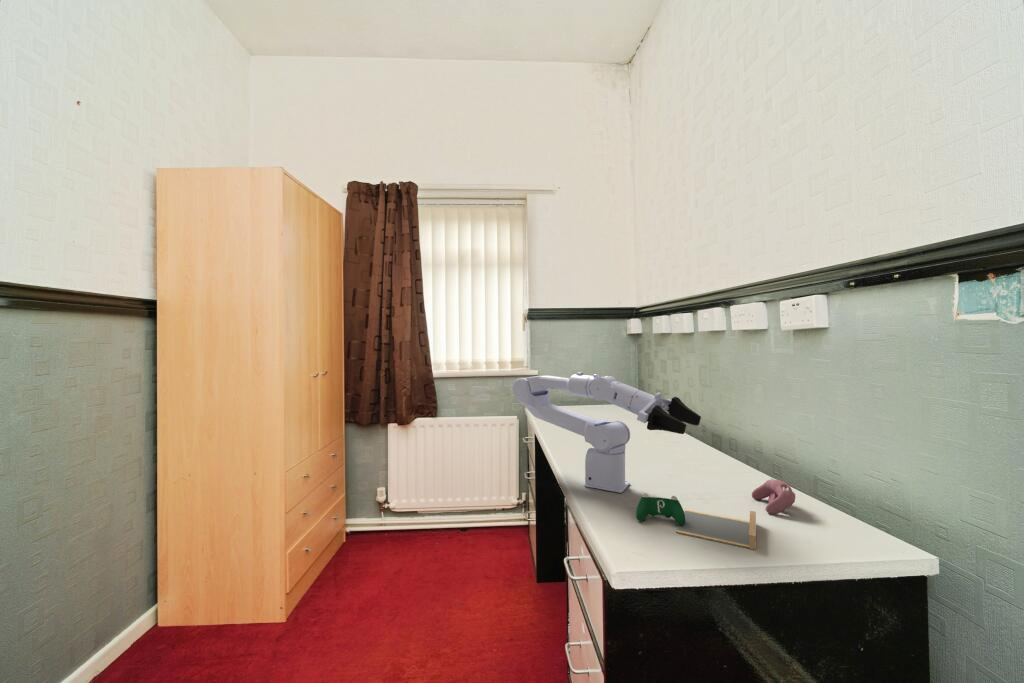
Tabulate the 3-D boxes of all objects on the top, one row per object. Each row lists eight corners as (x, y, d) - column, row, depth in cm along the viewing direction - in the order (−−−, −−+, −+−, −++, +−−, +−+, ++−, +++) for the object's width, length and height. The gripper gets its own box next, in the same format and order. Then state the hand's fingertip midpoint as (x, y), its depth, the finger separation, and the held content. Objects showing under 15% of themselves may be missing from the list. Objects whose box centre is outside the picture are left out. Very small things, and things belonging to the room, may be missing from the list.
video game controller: (787, 524, 87) (804, 494, 86) (765, 512, 88) (782, 483, 87) (768, 505, 97) (783, 479, 96) (748, 495, 97) (763, 469, 97)
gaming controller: (685, 531, 83) (683, 502, 87) (685, 523, 81) (683, 493, 85) (636, 526, 86) (637, 498, 90) (635, 518, 84) (636, 489, 88)
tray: (676, 532, 79) (676, 519, 79) (685, 510, 90) (685, 499, 90) (755, 549, 73) (755, 536, 73) (755, 523, 83) (755, 511, 83)
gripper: (623, 391, 94) (682, 416, 85) (654, 380, 104) (710, 401, 95) (617, 420, 96) (674, 446, 87) (648, 406, 106) (702, 429, 97)
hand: (692, 425), depth 91 cm, fingers open, 7 cm apart
